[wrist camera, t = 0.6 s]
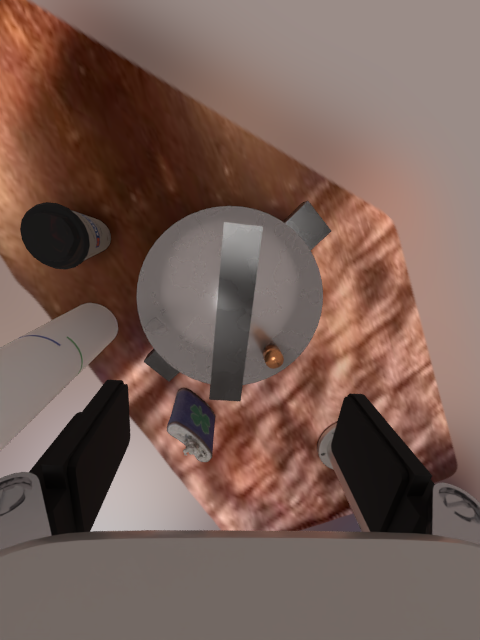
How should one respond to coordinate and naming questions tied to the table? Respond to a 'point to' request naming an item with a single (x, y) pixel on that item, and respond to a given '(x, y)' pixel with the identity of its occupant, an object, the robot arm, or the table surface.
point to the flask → (192, 424)
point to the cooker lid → (229, 297)
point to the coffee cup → (62, 235)
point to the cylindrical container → (49, 363)
